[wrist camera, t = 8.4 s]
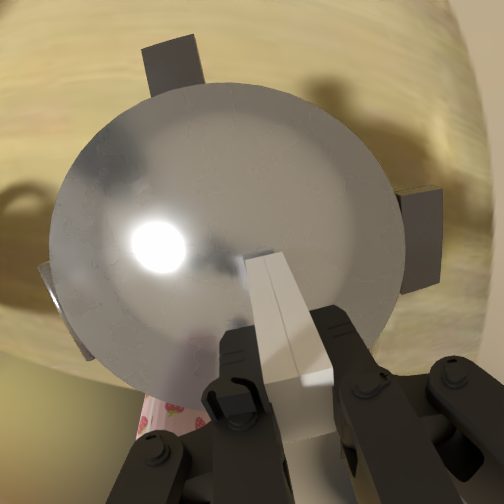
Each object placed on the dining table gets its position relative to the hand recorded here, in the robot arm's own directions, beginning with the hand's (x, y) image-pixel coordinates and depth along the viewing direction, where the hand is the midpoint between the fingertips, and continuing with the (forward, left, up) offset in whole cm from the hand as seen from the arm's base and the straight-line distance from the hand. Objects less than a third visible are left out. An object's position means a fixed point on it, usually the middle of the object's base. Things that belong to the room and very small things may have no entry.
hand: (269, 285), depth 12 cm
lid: (0, -1, -2) cm, 2 cm away
